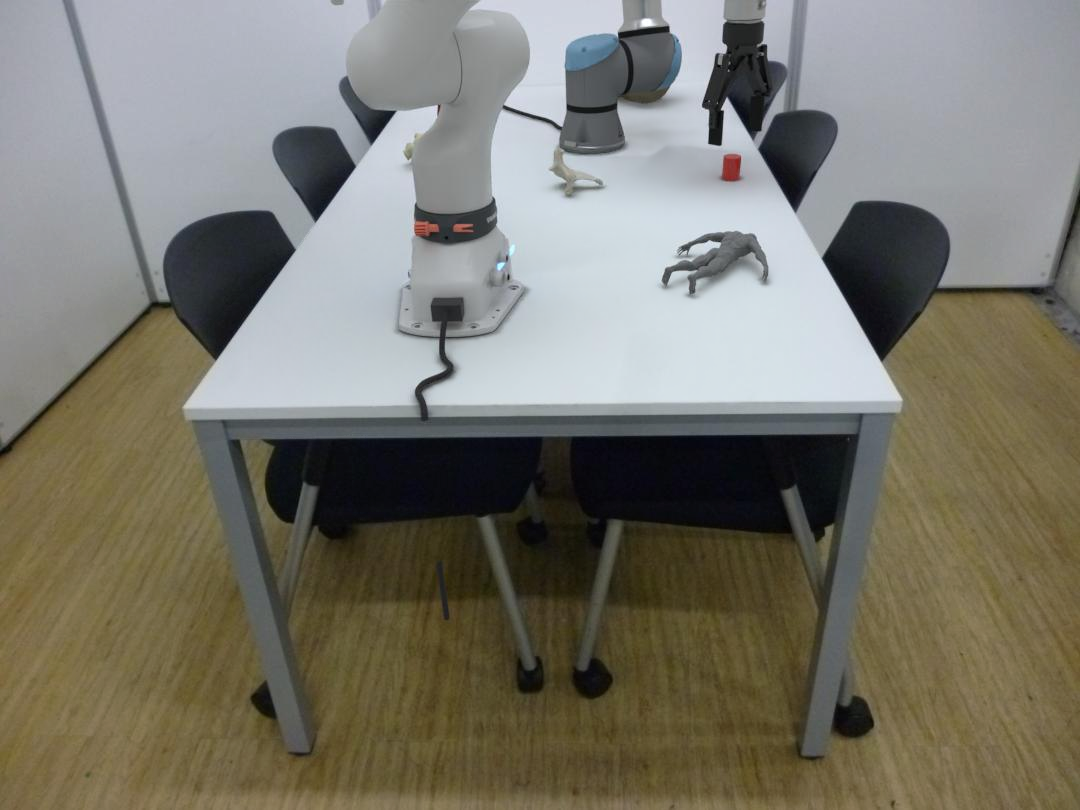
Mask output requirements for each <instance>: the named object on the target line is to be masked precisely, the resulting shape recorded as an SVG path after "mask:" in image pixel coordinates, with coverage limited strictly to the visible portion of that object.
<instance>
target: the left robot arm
mask: <svg viewBox="0 0 1080 810" xmlns="http://www.w3.org/2000/svg"><path fill="white" fill-rule="evenodd" d="M479 2H481V0H386V1H385V2H384V4H383V5H382V7H381V8H380V9H379V11H378V12H377V13H376V14H374V16H373V18H372V19H371V20H370V21H368V23H366V24H365V25H364V26H363V27H361V28H360V29H359V30H357V31H356V32H355V33H354V35H353V36H352V38H351V40H350V42H349V44H348V47H347V51H346V57H345V69H346V76H347V79H348V81H349V82H348V83H349V84H350V86H351V88H352V90H353V92H354V93H355V95H356V96H357V98H358V99H359V100H360V101H361V102H362V104H364V105H365V106H367V107H368V108H369V109H371V110H374V111H375V110H376V111H390V112H391V111H392V112H409V111H415V110H418V109H419V110H420V109H424V108H430V107H435V106H438V105H441V107H440V111H439V114H438V116H436V119H435V121H434V122H433V124H432V125H431V127H429V129H428V130H426V131H425V132H423V133H424V134H423V135H422V136H421V137H420V138H419V139H418V140H417V142H416V143H415V146H414V148H413V151H412V156H411V158H410V160H411V168H412V176H413V184H414V192H415V193H414V194H415V201H416V202H415V203H414V209H413V210H414V211H413V222H414V223H413V232H414V235H413V236H412V237H411V246H412V247H411V248H412V250H411V262H410V263H411V266H410V269H408V271H407V277H408V278H409V279H410V280H408V281H405V282H404V283H403V284H402V292H401V299H400V308H399V309H400V310H399V318H398V329H399V331H401V332H403V333H406V334H410V335H415V336H421V337H422V336H423V337H434V338H435V337H437V338H439V339H438V340H439V341H438V354H439V358H440V360H441V362H442V363H443V364H444V365H445V366H446V367H447V368H446V369H445V370H443V371H441V372H439V373H436V374H434V375H431V376H429V377H427V378H424V379H423V380H421V381H420V382H419V383H418V384H417V385H416V387H415V389H414V395H415V398H416V400H417V402H418V405H419V409H420V416H421V417H420V419H421V422H427V421H428V420H429V411H428V406H427V401H426V399H425V397H424V395H423V394H422V391H423V390H424V388H425V387H427V386H428V385H431V384H433V383H435V382H438V381H441V380H443V379H445V378H447V377H448V376H450V375H451V374H452V373H453V371H454V367H455V366H454V364H453V362H452V361H451V360H450V359H449V358H448V357H447V355H446V338H458V337H459V338H460V337H473V336H479V335H484V334H489V333H492V332H494V331H496V330H497V328H498V327H499V326H500V324H502V322H503V320H504V319H505V318H506V316H507V315H508V314H509V312H510V311H511V309H512V308H513V307H514V306H515V304H516V303H517V301H518V300H519V298H520V297H522V295H523V293H524V292H525V287H524V283H523V282H522V281H519V280H517V279H514V277H513V268H512V259H511V256H512V254H514V252H515V250H516V248H515V247H516V246H515V244H512V245H511V247H510V241H509V238H508V237H507V236H506V235H505V234H504V233H503V232H502V231H501V230H500V228H499V227H498V225H497V224H498V206H497V201H496V198H495V196H493V185H492V183H493V182H492V146H493V145H492V144H493V142H492V141H493V138H494V133H495V129H496V126H497V122H498V119H499V117H500V115H501V112H502V110H503V105H505V103H506V102H507V100H508V99H509V97H510V95H511V94H512V93H513V91H514V90H515V89H516V87H517V86H519V84H521V82H522V81H523V79H524V78H525V76H526V74H527V72H528V69H529V66H530V59H531V47H530V41H529V38H528V34H527V32H526V30H525V28H524V27H523V25H522V23H521V22H520V21H519V20H518V18H516V16H515V15H513V14H512V13H510V12H506V11H499V10H491V9H480V8H478V9H477V8H476V9H471V8H473V7H474V6H475V5H476V4H478V3H479ZM330 3H331V4H332V5H333V6H343V5H344V4H345V0H330ZM435 566H436V573H437V579H438V585H439V593H440V600H441V607H442V614H443V620H444V621H449V620H450V609H449V602H448V601H449V600H448V595H447V587H446V582H445V573H444V567H443V561H438V562H436V563H435Z"/></svg>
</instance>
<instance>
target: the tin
mask: <svg viewBox="0 0 1080 810" xmlns="http://www.w3.org/2000/svg"><path fill="white" fill-rule="evenodd" d="M722 158H723V159H722V168H721V170H722V171H721V179H722V180H724V181H730V182H733V181H734V182H735V181H738V180H740V176H741V167H742V166H741V165H742V155H740V154H738V153H725V154H724V155H723V156H722Z"/></svg>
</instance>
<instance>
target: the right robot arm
mask: <svg viewBox="0 0 1080 810" xmlns="http://www.w3.org/2000/svg"><path fill="white" fill-rule="evenodd" d="M621 3H622V4H621V6H622V17H623V18H622V19H623V23H622V24H621V26H620V27H619V28H618V30H617V35H616V34H614V33H599V34H596V33H595V34H589V35H584V36H582V37H579V38H576V39H574V40H573V41H571V42H570V43H569V44H567V46H566V48H565V54H564V55H565V57H564V71H565V104H566V105H565V106H566V107H565V108H566V110H565V115H564V119H563V122H562V126H561V125H559V124H558V123H557V122H555V121H554V120H552V119H550V118H547V117H544V116H540V115H536V114H534V113H533V114H532V113H530V112H526V111H522V110H520V109H516V108H513V107H510V106H508V105H505V104H504V105H503V108H502V110H503V109H504V110H506V111H508V112H511V113H514V114H517V115H520V116H523V117H525V118H526V117H527V118H530V119H533V120H537V121H542V122H545V123H548V124H550V125H551V126H553V128H555V129H556V130H559V131H560V134H559V137H558V148H561V149H563V150H564V152H566V153H571V154H574V155H604V154H609V153H614V152H617V151H620V150H621V149H623V148H625V146H626V135H625V132H624V129H623V126H622V122H621V118H620V115H619V111H618V101H619V100H618V97H619V96H621V95H627V94H634V93H641V92H648V91H649V92H652V91H656V90H659V89H664V88H667V87H669V86H670V85H671V86H672V85H673V84H674V82H675V81H676V78H678V75H679V73H680V70H681V67H682V59H683V50H682V49H683V48H682V44H681V42H680V40H679V37H678V36H677V35H676V34H674V33H672V32H671V29H670V28H671V26H670V25H671V24H670V23H669V22H667V20H666V19H664V17H663V8H662V6H663V5H662V0H621ZM766 8H767V0H724V3H723V16H722V18H723V19H724V20H725V21H724V23H723V24H722V36H721V37H722V38H721V40H722V41H721V42H722V43H723V44H724V45H725V46H726V51H725V53H722V52H716V53H715V55H714V62H713V68H712V69H711V70H712V71H711V74H710V77H709V80H708V84H707V86H706V90H705V93H704V96H703V99H702V102H701V108H702V109H704V110H708V123H707V124H708V137H707V144H708V145H711V146H717V147H721V146H722V145H723V135H724V119H725V110H724V109H722V108H723V106H724V104H725V102H726V100H727V98H728V96H729V94H730V91H731V89H732V88H733V86H734V83H735V81H736V80H738V79H739V77H740V76H743V75H745V78H746V80H747V83H748V85H749V86H750V89H751V91H752V93H753V95H752V96H750V102H749V114H748V125H747V130H748V131H751V132H757V133H761V132H762V130H763V119H764V111H765V110H764V109H765V101H766V100H765V99H766V98H770V96H771V94H772V91H773V88H774V86H773V80H772V76H771V69H770V64H769V59H768V44H766V43H763V41H764V36H765V35H764V34H765V22H764V21H763V19H764V18H765V17H766ZM671 86H670V87H671Z"/></svg>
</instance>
